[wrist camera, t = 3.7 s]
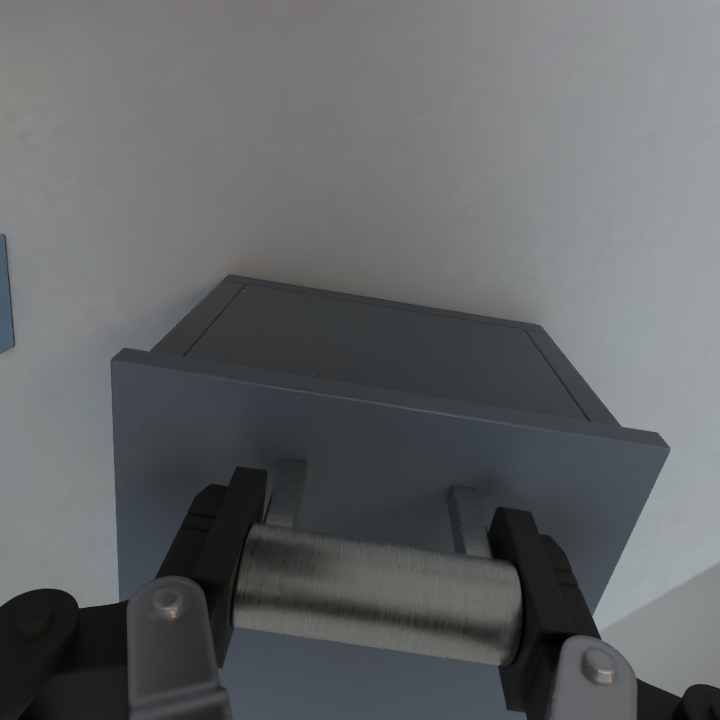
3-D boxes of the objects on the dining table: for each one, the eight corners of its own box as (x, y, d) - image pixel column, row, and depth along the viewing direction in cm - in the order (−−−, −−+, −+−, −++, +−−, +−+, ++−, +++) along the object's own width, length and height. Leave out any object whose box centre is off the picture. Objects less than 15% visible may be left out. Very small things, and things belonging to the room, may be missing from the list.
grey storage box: (228, 274, 24) (134, 363, 15) (541, 325, 25) (635, 442, 16) (208, 571, 31) (134, 759, 22) (456, 608, 31) (487, 808, 22)
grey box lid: (123, 346, 14) (-16, 475, 9) (658, 431, 15) (795, 597, 10) (133, 760, 22) (60, 952, 17) (487, 810, 22) (516, 1011, 17)
